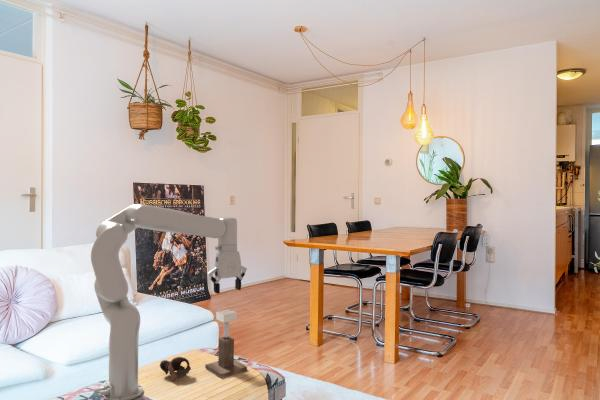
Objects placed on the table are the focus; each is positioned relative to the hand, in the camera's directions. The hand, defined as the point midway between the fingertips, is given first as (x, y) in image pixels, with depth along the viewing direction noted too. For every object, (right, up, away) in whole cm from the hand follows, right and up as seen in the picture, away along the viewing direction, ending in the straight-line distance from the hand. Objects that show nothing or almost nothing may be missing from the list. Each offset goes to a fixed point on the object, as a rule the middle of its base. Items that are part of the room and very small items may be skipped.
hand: (227, 291), depth 175 cm
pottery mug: (-19, -32, -7) cm, 37 cm away
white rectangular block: (-1, -23, 0) cm, 23 cm away
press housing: (-1, -31, 0) cm, 31 cm away
